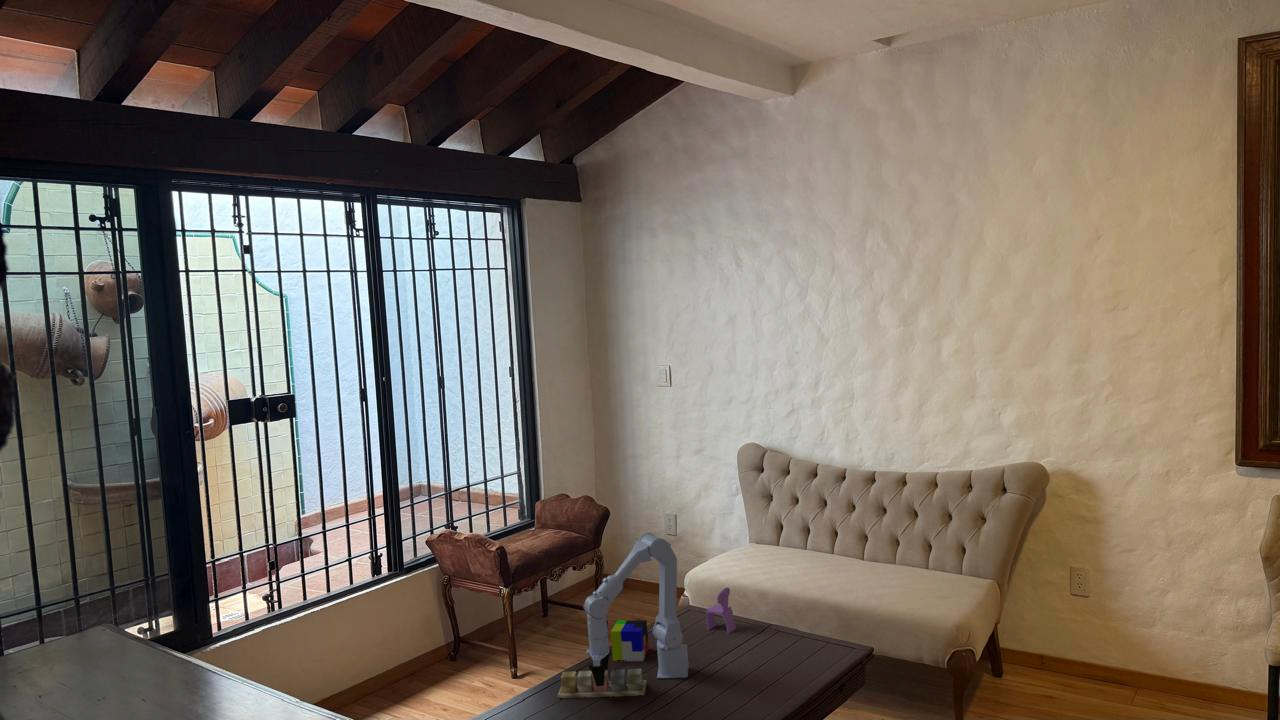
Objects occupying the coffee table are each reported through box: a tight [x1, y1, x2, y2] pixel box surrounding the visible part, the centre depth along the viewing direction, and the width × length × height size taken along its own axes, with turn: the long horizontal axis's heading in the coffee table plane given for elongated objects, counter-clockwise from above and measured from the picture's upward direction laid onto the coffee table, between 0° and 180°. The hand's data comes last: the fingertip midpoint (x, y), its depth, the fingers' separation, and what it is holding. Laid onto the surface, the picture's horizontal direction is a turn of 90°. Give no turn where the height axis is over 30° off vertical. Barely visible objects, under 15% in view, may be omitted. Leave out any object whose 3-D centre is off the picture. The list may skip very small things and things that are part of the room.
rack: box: [557, 668, 647, 699], centre depth 267 cm, size 26×8×6 cm, turn 85°
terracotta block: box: [593, 670, 609, 692], centre depth 267 cm, size 4×4×5 cm
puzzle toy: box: [610, 619, 650, 662], centre depth 293 cm, size 10×10×10 cm
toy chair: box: [705, 586, 738, 635], centre depth 310 cm, size 8×9×15 cm
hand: (601, 680), depth 267 cm, fingers open, 7 cm apart
